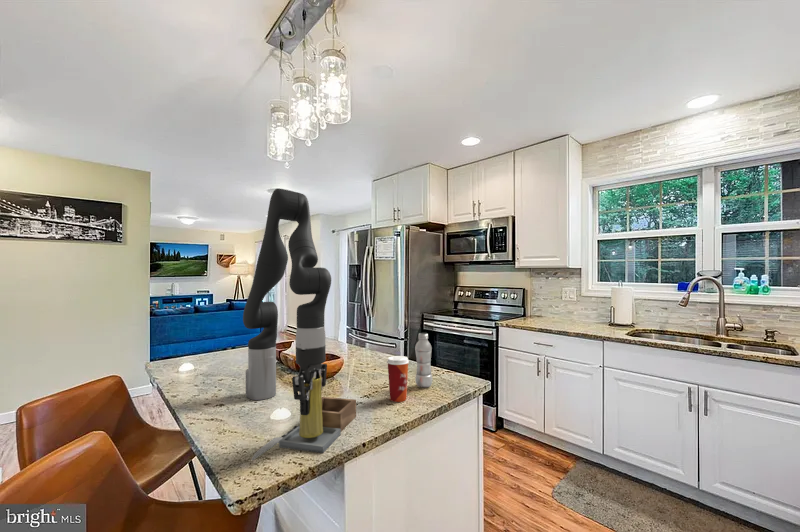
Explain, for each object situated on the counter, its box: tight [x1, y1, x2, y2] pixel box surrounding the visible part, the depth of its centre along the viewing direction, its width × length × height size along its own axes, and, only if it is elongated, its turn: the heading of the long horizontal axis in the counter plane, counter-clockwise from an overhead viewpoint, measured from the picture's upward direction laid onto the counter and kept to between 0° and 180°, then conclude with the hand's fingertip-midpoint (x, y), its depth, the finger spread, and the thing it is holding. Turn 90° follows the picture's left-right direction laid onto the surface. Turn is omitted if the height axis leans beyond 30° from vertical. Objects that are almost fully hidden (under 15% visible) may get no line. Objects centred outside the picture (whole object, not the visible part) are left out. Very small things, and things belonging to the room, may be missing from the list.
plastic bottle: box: [414, 332, 433, 388], centre depth 132 cm, size 6×7×20 cm
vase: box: [299, 376, 323, 438], centre depth 89 cm, size 6×6×14 cm
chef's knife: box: [251, 425, 299, 461], centre depth 88 cm, size 19×1×3 cm
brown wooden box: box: [321, 396, 357, 433], centre depth 100 cm, size 11×11×5 cm
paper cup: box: [386, 355, 410, 403], centre depth 119 cm, size 8×8×14 cm
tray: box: [278, 424, 342, 454], centre depth 89 cm, size 12×10×2 cm
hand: (310, 409), depth 89 cm, fingers closed on vase, 5 cm apart
